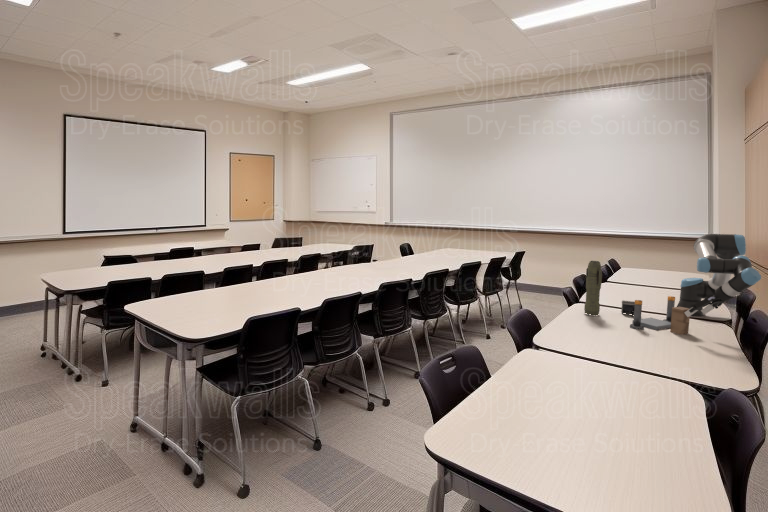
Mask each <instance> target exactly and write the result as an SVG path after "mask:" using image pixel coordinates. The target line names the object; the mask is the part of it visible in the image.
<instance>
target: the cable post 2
mask: <svg viewBox="0 0 768 512" xmlns="http://www.w3.org/2000/svg"><path fill="white" fill-rule="evenodd" d="M675 300H676V296H673V295H672V296H671V295H668V296H667V305H666V315H665V316H666V317H665V319H662V320H663V321H667V322H671V317H672V316H671V315H672V307H675V305H676V301H675Z"/></svg>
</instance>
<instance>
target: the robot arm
mask: <svg viewBox="0 0 768 512" xmlns="http://www.w3.org/2000/svg"><path fill="white" fill-rule="evenodd" d="M746 249H747V244H746V236H744V235H742V234H736V233H734V234H729V233H726V234H725V233H708V234H705V235H701V236H699V237H698V238H697V239H696V240H695V241H694V243H693V250H694V252H695V253H696V254H697V256H698V258H697V261H696V270H697V271H698V272H699V273H705V274H706V273H709V274H712V277H710V278H709V279H708V280H704V279H703V278H702V277H686V278H683V279H682V280H681V282H680V286H679V287H680V292H679V293H680V294H679V301H678V303H677V305H676V307H684V308H688V309H689V310H687V311H686V312H684V313H685V314H686V316H687V317H689V316H690V317H691V316H693V317H694V316H695V317H702V316H705V315H706V314H708V313H710V312H711V311H713V310H714V309H719V307H721V306H722V305H723V304H724V303H725V302H729V301H731V300H732V299H734V297H736V296H740V295H741V293H743V292H744V291H746V290H748V289H749V288H751V287H752V286H754V285H755V284H757V283H758V282H759V281H761V279H762V275H761V274H760V272H759V271H758V270H756V269H755V268H754V267H752V266H753V264H752V262H751V260H750V258H749V257H748V256H745V255H746V251H747V250H746ZM732 275H733V277H732V278H731V276H732Z"/></svg>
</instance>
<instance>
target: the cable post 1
mask: <svg viewBox="0 0 768 512" xmlns="http://www.w3.org/2000/svg"><path fill="white" fill-rule="evenodd" d="M634 302H635V308H634V316H633V320H634V322H633V321H632V323H631V324H629V328H631V329H633V330H644V328H645V327H644V326H642V325H641V319H642V310H643V308H642V307H643V300H639V299H635V300H634Z"/></svg>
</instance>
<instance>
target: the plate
mask: <svg viewBox="0 0 768 512" xmlns="http://www.w3.org/2000/svg"><path fill="white" fill-rule="evenodd" d="M663 320H664V319H658V318H655V317H645V318H641V325H642V326H644V328H646V329H647V328H648V329H651V330H655V331H656V330H657V331H658V330H664V329H665V328H666V329H671V328H670V327H671V322H667V321H663ZM633 322H634V319H632V323H633Z"/></svg>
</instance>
